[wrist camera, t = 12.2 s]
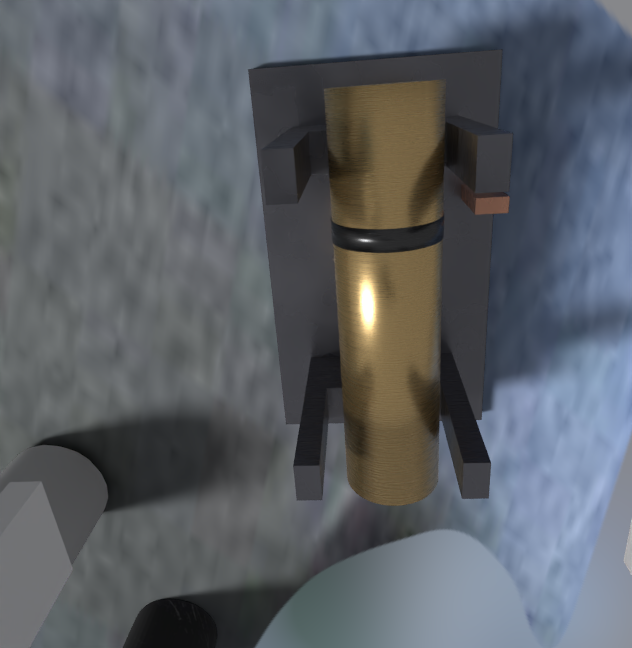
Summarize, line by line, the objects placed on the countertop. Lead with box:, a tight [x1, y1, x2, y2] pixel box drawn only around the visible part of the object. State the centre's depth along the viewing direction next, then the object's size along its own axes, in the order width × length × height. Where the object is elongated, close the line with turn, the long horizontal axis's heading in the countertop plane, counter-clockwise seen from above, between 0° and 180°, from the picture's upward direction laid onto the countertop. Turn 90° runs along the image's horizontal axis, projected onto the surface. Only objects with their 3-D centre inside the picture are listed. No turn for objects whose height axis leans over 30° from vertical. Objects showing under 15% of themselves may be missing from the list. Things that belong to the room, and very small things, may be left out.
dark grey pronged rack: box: [248, 49, 513, 500], centre depth 28 cm, size 22×13×12 cm, turn 4°
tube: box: [324, 79, 446, 506], centre depth 27 cm, size 20×5×5 cm, turn 4°
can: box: [0, 445, 108, 565], centre depth 37 cm, size 8×8×12 cm
